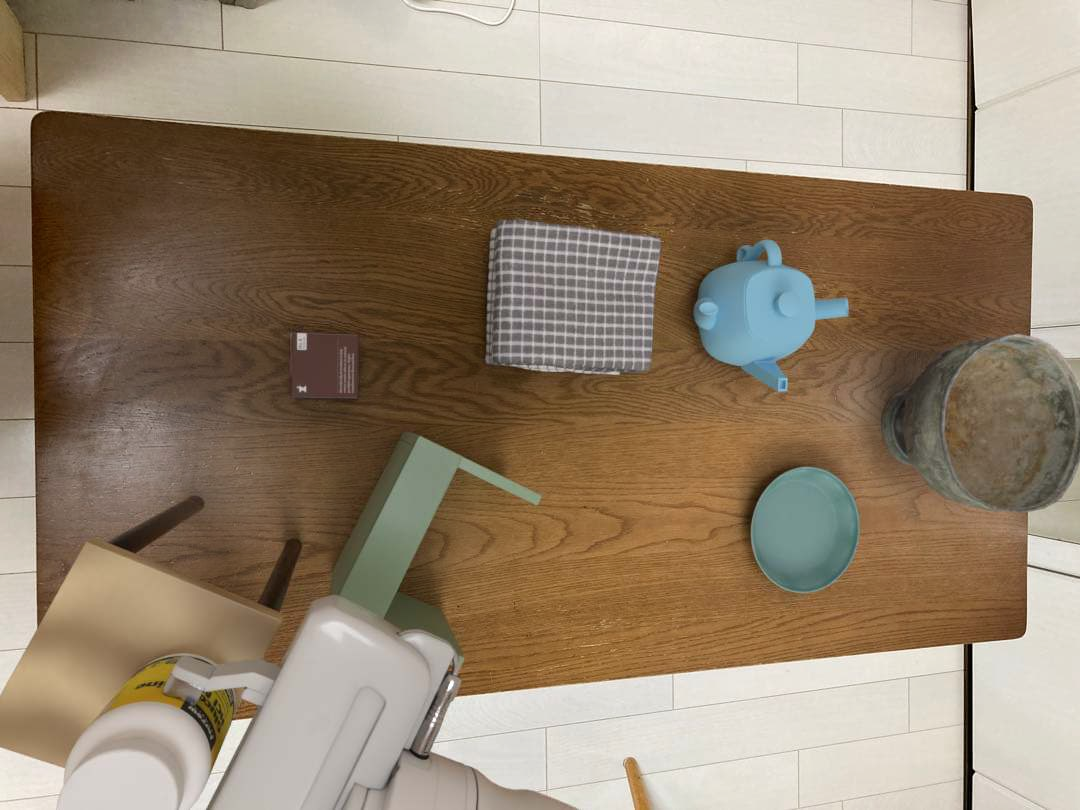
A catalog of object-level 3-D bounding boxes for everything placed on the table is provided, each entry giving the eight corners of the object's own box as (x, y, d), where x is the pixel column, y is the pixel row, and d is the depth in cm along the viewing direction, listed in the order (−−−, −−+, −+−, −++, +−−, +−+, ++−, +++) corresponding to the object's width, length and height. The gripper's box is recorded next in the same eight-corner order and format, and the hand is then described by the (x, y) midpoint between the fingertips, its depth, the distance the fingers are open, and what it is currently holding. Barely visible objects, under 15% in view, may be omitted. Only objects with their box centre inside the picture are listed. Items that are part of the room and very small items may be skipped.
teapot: (729, 407, 83) (787, 405, 72) (652, 321, 81) (700, 307, 70) (808, 318, 86) (876, 304, 75) (736, 233, 84) (795, 205, 73)
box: (357, 401, 72) (358, 400, 65) (294, 400, 70) (288, 398, 63) (358, 341, 72) (359, 333, 65) (296, 339, 70) (290, 331, 63)
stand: (191, 795, 43) (186, 808, 42) (-12, 728, 41) (-26, 739, 39) (284, 613, 45) (282, 620, 44) (94, 536, 42) (85, 541, 41)
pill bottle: (259, 680, 42) (227, 771, 31) (196, 776, 41) (142, 904, 30) (161, 630, 41) (94, 707, 30) (95, 728, 40) (0, 844, 29)
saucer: (752, 603, 84) (765, 609, 81) (727, 482, 83) (739, 484, 80) (856, 568, 87) (871, 573, 85) (832, 452, 87) (847, 453, 84)
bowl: (982, 357, 93) (1099, 347, 78) (968, 505, 92) (1084, 522, 77) (855, 334, 88) (955, 318, 73) (839, 490, 87) (937, 505, 72)
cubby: (438, 618, 74) (463, 675, 58) (331, 573, 71) (326, 619, 55) (505, 479, 76) (547, 497, 60) (403, 430, 73) (419, 435, 57)
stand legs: (248, 651, 69) (190, 791, 43) (130, 605, 66) (-7, 726, 41) (305, 541, 71) (280, 615, 45) (191, 492, 68) (96, 541, 42)
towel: (484, 229, 76) (499, 208, 68) (643, 243, 80) (674, 225, 73) (481, 371, 75) (496, 366, 68) (641, 376, 80) (672, 373, 73)
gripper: (486, 672, 36) (225, 563, 33) (295, 1079, 33) (-9, 1003, 30) (467, 635, 42) (244, 540, 39) (303, 977, 40) (51, 905, 36)
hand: (132, 746), depth 35 cm, fingers closed on pill bottle, 6 cm apart
